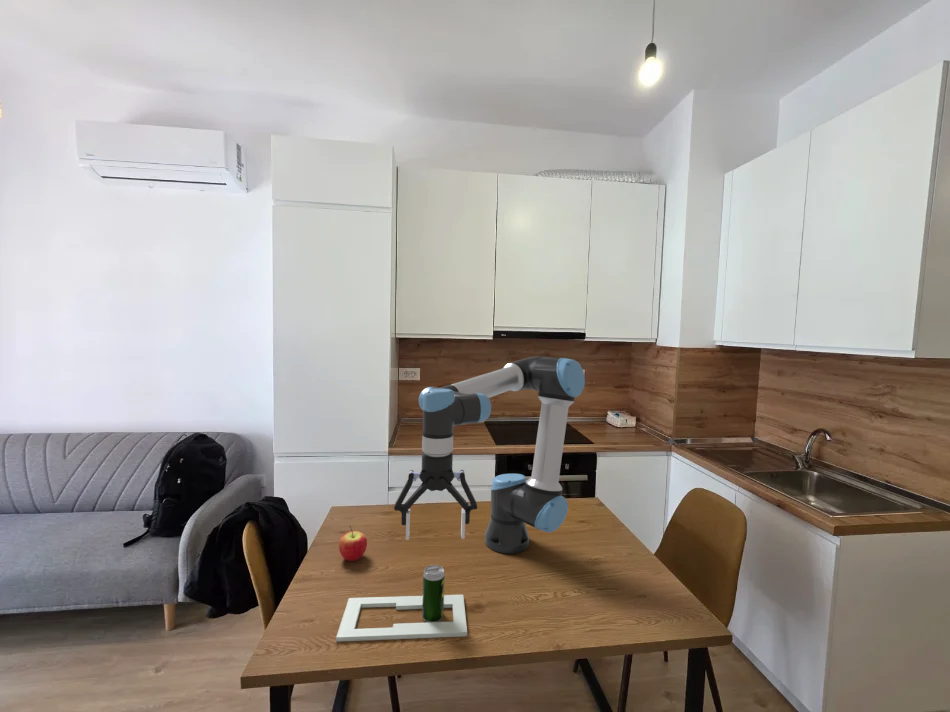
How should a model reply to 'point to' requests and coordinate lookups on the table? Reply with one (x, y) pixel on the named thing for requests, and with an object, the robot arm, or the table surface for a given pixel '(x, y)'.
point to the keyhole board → (402, 629)
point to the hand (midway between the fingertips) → (435, 536)
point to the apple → (352, 545)
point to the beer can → (433, 593)
